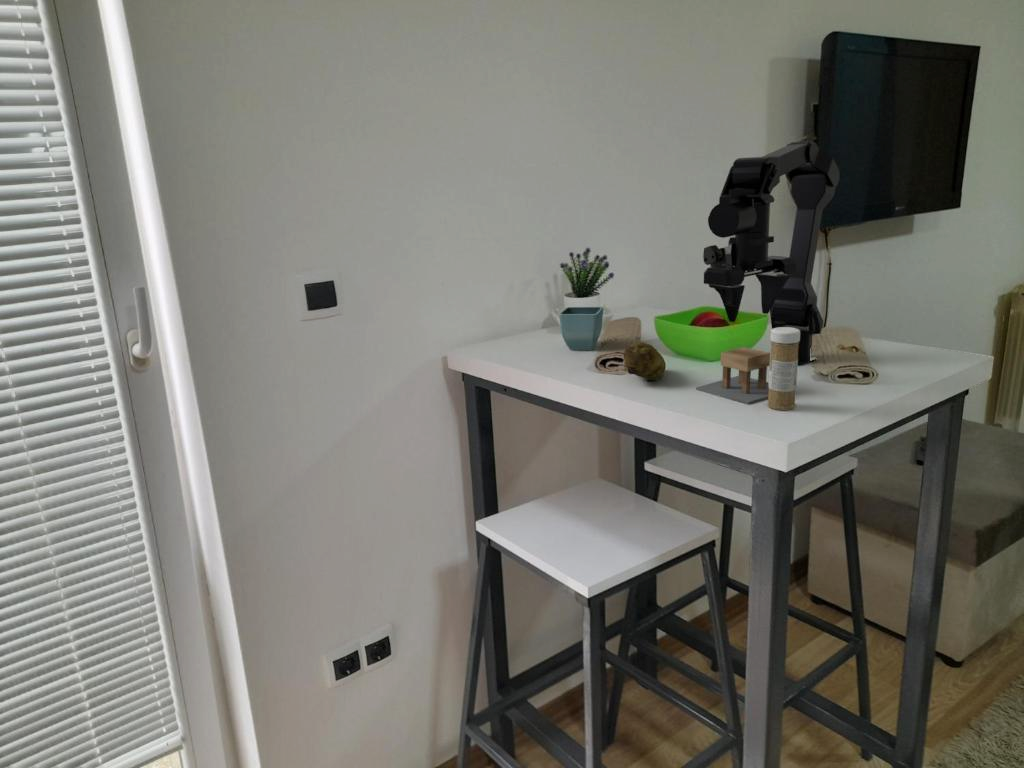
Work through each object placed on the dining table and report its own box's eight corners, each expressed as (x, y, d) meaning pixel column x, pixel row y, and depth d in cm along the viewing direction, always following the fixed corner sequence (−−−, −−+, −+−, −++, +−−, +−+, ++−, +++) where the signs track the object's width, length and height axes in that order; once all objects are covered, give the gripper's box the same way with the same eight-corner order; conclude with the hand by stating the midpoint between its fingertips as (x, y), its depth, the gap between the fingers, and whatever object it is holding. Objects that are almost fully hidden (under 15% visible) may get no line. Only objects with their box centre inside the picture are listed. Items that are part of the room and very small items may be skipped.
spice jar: (774, 401, 128) (778, 325, 124) (800, 406, 125) (805, 328, 121) (762, 408, 125) (766, 330, 121) (788, 413, 122) (793, 333, 118)
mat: (739, 377, 143) (739, 375, 143) (792, 390, 133) (793, 388, 133) (696, 389, 136) (696, 387, 136) (748, 404, 127) (748, 402, 127)
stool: (741, 381, 139) (743, 347, 137) (768, 388, 134) (770, 352, 132) (719, 387, 136) (721, 352, 134) (746, 394, 131) (747, 358, 129)
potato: (682, 375, 146) (683, 335, 144) (645, 390, 137) (645, 349, 135) (647, 369, 152) (647, 331, 149) (609, 383, 143) (609, 343, 141)
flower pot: (559, 352, 169) (558, 313, 166) (567, 343, 177) (566, 306, 174) (597, 353, 166) (596, 314, 164) (604, 344, 174) (603, 306, 172)
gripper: (749, 224, 142) (746, 304, 147) (680, 234, 132) (680, 319, 137) (800, 226, 133) (795, 311, 138) (730, 237, 123) (728, 329, 128)
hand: (749, 317), depth 135 cm, fingers open, 9 cm apart
